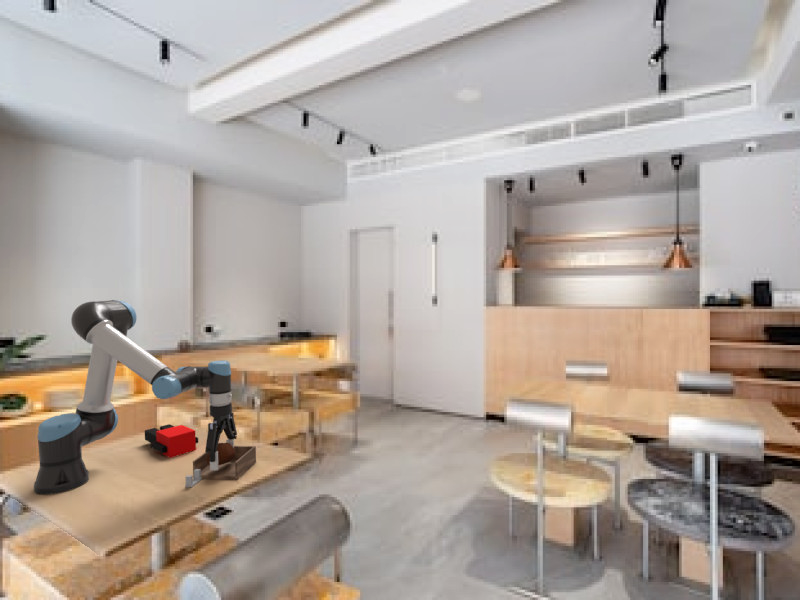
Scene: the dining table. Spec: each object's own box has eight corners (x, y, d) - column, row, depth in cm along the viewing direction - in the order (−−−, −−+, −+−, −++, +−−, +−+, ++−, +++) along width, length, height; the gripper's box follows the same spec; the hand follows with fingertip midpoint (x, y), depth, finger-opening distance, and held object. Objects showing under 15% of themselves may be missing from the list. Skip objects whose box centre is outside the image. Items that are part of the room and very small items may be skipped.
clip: (185, 487, 148) (184, 476, 148) (195, 479, 154) (194, 469, 154) (191, 487, 148) (191, 476, 148) (201, 479, 154) (201, 469, 154)
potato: (242, 459, 163) (241, 438, 163) (217, 472, 152) (217, 449, 152) (226, 456, 166) (225, 436, 166) (201, 468, 155) (201, 446, 155)
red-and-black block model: (174, 418, 200) (200, 429, 184) (174, 436, 200) (200, 448, 184) (139, 426, 188) (163, 439, 172) (139, 445, 189) (164, 459, 173)
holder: (193, 478, 155) (192, 461, 155) (215, 461, 170) (215, 445, 170) (237, 479, 153) (236, 462, 153) (256, 462, 168) (255, 446, 168)
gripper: (213, 413, 147) (215, 477, 147) (245, 395, 170) (247, 451, 171) (192, 412, 147) (194, 476, 148) (226, 395, 171) (228, 450, 171)
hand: (222, 463), depth 159 cm, fingers closed on potato, 11 cm apart
